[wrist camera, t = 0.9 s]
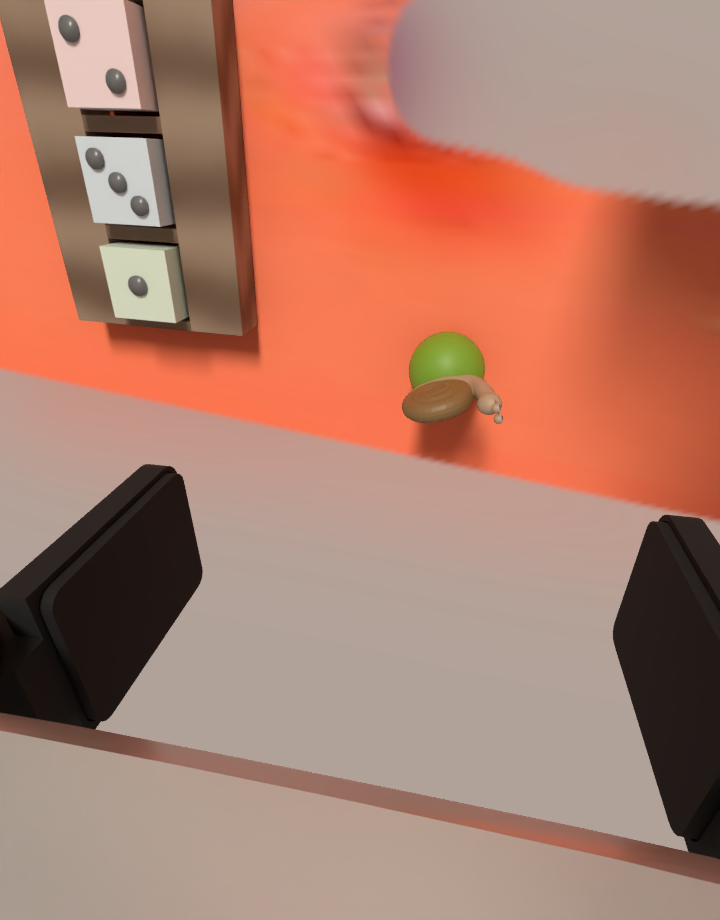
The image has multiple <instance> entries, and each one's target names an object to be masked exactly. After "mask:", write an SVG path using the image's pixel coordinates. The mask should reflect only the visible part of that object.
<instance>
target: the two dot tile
mask: <svg viewBox="0 0 720 920" xmlns="http://www.w3.org/2000/svg"><path fill="white" fill-rule="evenodd" d="M44 3H45V7H46V12H47V16H48V21H49V25H50V30H51V34H52V39H53V43H54V47H55V52H56V56H57V61H58V65H59V70H60V74H61V78H62V83H63V87H64V92H65V96H66V101H67V105H68V107H71V108H78V109H86V110H94V111H136V112H159V107H158V100H157V93H156V86H155V79H154V73H153V66H152V59H151V52H150V46H149V39H148V32H147V25H146V18H145V12H144V7H142V6H139V5H137V4H135V3H133V2H131V1H128V0H44Z"/></svg>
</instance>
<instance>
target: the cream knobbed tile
mask: <svg viewBox="0 0 720 920" xmlns="http://www.w3.org/2000/svg"><path fill="white" fill-rule="evenodd" d="M99 247H100V252H101V256H102V261H103V265H104V270H105V274H106V278H107V283H108V287H109V292H110V296H111V301H112V305H113V310H114V314H115V317H117V318H128V319H138V320H148V321H159V322H169V323H177V322H179V321H181V320H183V319H185V318H187V317H189V310H188V303H187V296H186V289H185V283H184V276H183V269H182V262H181V256H180V249H179V245H168V244H153V243H139V242H124V241H120V242H115V243H111V244H106V245H102V246H99Z"/></svg>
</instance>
